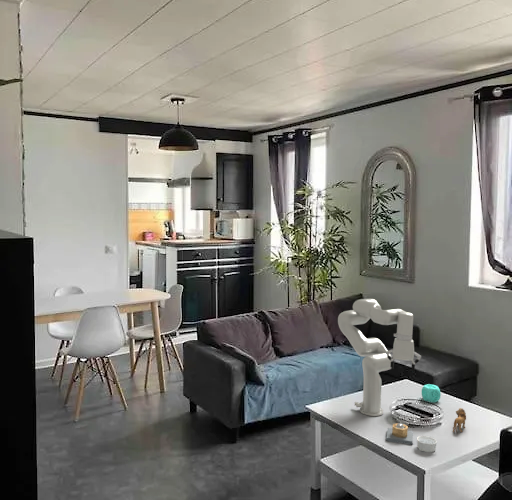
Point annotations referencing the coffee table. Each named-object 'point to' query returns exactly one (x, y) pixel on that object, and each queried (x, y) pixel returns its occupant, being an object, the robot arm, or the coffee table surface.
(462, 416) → the lion figurine
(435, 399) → the decorative dice
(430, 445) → the ramekin
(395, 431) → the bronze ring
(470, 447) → the coffee table surface
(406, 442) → the stand base
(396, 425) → the steel post
